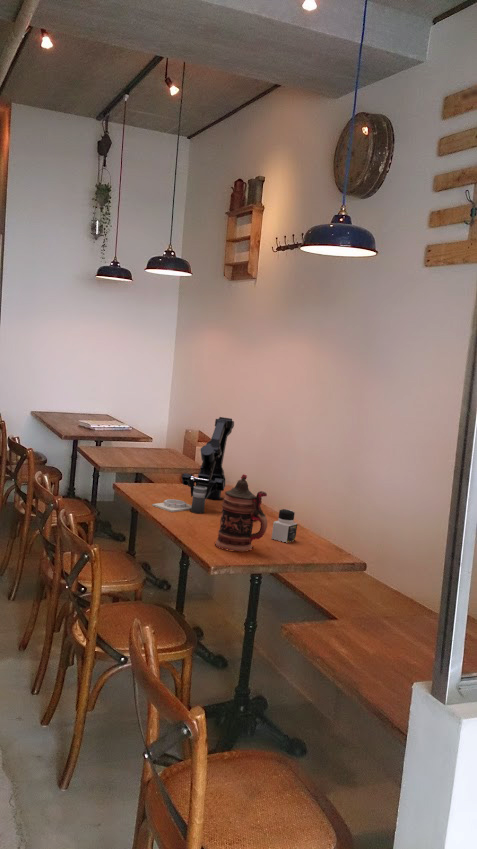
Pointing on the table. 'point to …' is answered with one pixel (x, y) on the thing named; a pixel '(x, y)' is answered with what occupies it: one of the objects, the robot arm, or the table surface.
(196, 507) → the grey round piece
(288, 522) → the medicine bottle
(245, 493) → the beer stein
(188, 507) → the board
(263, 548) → the table surface
